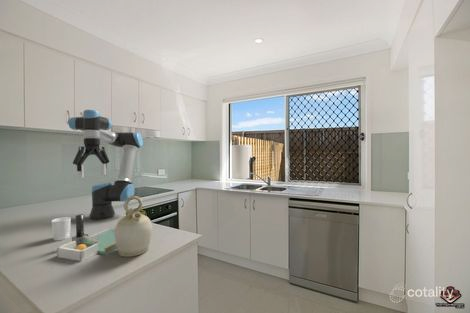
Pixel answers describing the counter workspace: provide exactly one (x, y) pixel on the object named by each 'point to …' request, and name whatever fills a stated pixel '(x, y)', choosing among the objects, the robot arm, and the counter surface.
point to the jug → (133, 231)
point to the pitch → (103, 241)
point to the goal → (76, 251)
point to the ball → (81, 247)
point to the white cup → (61, 228)
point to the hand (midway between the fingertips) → (92, 176)
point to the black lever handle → (80, 232)
